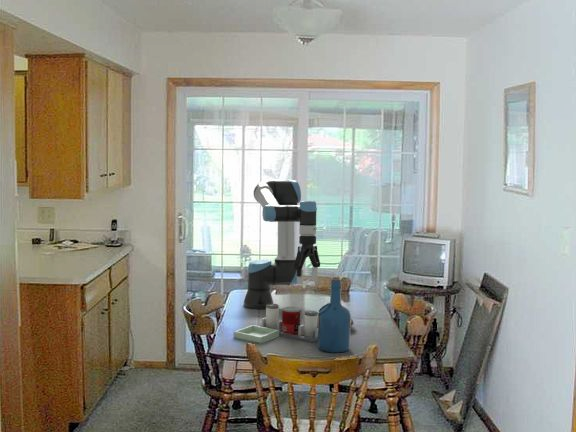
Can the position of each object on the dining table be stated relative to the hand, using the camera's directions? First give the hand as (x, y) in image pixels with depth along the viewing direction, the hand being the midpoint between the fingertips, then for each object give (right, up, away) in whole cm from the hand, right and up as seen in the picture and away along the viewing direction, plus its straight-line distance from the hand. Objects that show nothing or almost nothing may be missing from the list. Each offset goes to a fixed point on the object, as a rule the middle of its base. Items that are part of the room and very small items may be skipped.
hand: (307, 282), depth 308 cm
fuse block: (-7, -22, -5) cm, 23 cm away
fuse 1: (-16, -21, 0) cm, 26 cm away
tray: (-22, -22, -13) cm, 34 cm away
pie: (+10, -22, +6) cm, 25 cm away
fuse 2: (+1, -23, -10) cm, 25 cm away
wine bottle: (+10, -25, -26) cm, 37 cm away
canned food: (-7, -22, -5) cm, 24 cm away
